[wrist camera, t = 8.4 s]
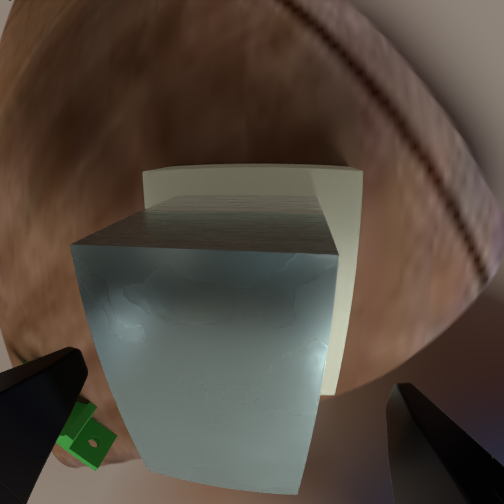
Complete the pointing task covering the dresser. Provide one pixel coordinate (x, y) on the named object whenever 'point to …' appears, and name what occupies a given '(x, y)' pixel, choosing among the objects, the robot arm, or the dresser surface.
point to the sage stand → (290, 184)
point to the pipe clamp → (85, 436)
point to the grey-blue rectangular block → (215, 332)
